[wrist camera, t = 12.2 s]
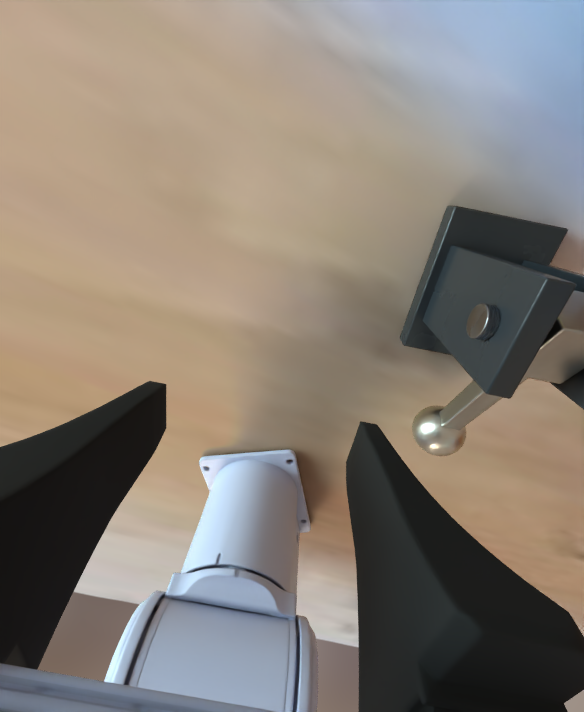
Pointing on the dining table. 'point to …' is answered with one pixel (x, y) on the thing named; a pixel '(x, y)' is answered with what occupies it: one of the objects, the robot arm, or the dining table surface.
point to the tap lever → (552, 364)
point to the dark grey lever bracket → (492, 298)
